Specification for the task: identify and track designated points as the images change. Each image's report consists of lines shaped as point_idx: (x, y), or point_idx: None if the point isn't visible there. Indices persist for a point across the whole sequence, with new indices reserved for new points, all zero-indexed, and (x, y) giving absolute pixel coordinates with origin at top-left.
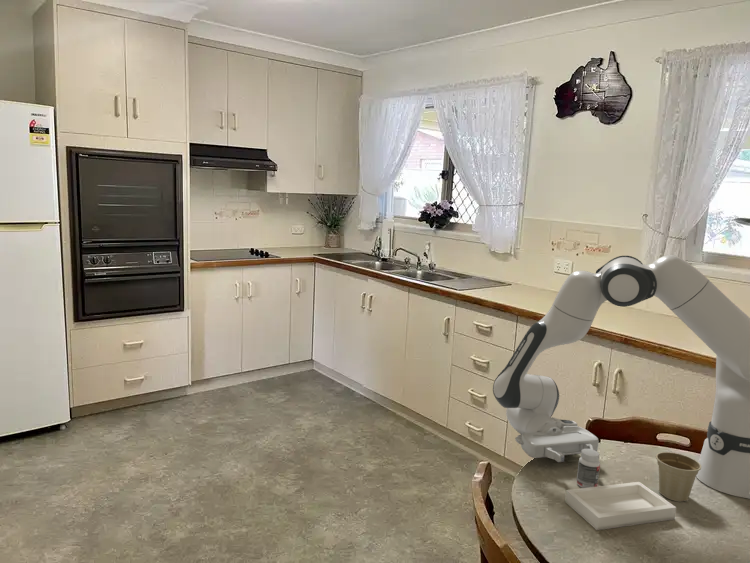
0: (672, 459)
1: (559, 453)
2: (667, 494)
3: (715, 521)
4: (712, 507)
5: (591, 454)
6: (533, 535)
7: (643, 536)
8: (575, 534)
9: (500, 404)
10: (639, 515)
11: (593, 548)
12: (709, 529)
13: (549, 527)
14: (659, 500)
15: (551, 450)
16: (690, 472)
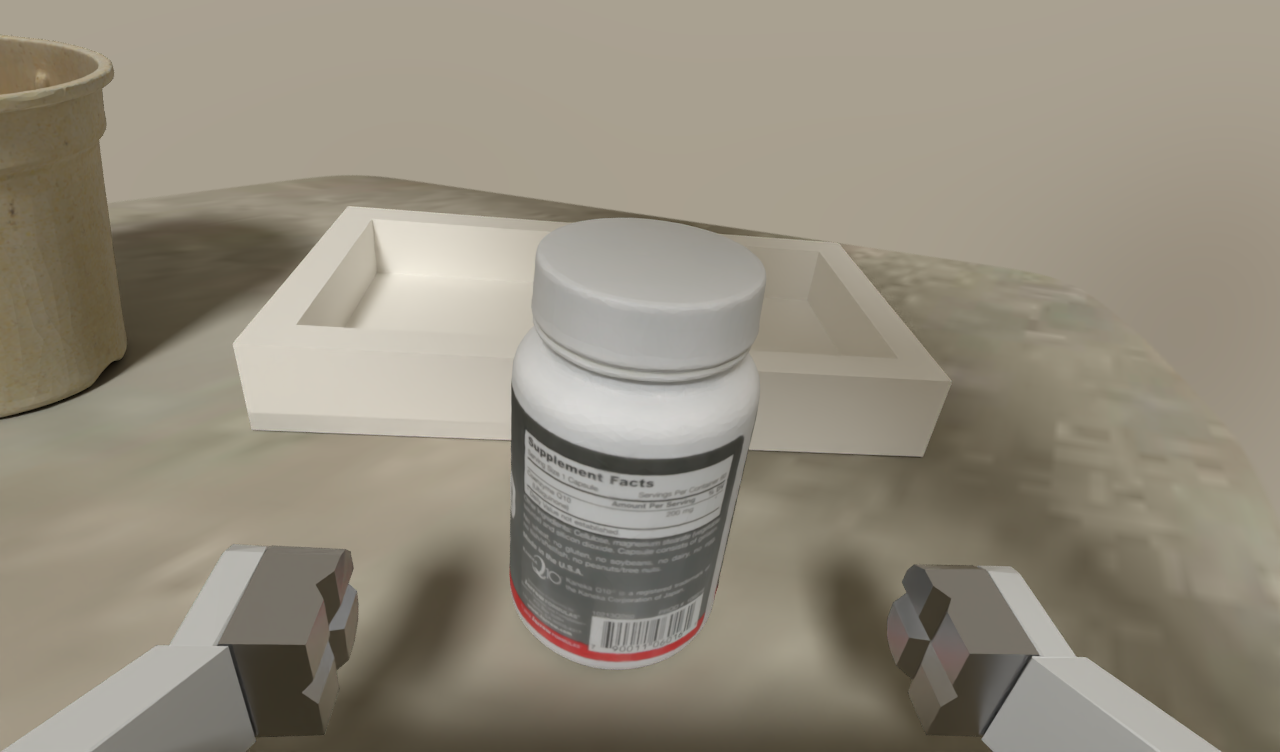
0: None
1: (995, 620)
2: (121, 324)
3: (162, 235)
4: None
5: (677, 233)
6: (1133, 334)
7: None
8: (935, 308)
9: None
10: None
11: (884, 265)
12: (278, 225)
13: (1055, 348)
14: (357, 247)
15: (1164, 732)
16: (33, 62)
